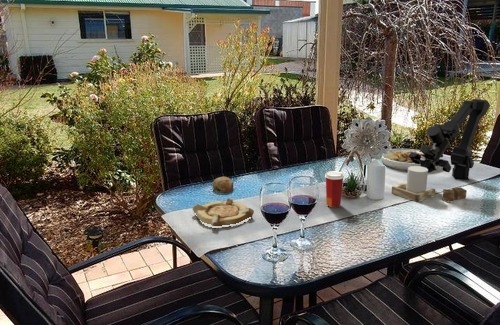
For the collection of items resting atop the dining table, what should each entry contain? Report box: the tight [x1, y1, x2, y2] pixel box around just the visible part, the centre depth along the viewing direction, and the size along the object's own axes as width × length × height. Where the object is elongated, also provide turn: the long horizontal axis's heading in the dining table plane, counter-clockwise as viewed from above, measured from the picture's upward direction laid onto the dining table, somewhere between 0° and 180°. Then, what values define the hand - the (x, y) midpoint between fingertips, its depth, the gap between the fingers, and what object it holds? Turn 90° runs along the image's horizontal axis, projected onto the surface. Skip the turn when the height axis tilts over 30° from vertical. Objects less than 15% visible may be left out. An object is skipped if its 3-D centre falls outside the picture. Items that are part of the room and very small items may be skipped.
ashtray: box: [192, 197, 255, 226], centre depth 169 cm, size 24×24×5 cm
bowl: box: [380, 148, 424, 171], centre depth 232 cm, size 30×30×8 cm
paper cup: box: [324, 170, 345, 208], centre depth 176 cm, size 8×8×14 cm
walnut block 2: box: [451, 186, 468, 201], centre depth 183 cm, size 4×4×4 cm
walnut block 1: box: [441, 188, 455, 203], centre depth 181 cm, size 4×4×4 cm
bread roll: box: [212, 176, 234, 193], centre depth 199 cm, size 10×10×8 cm
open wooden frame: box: [391, 181, 436, 203], centre depth 188 cm, size 12×13×3 cm
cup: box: [406, 166, 429, 194], centre depth 186 cm, size 8×8×12 cm
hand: (419, 176), depth 189 cm, fingers closed
